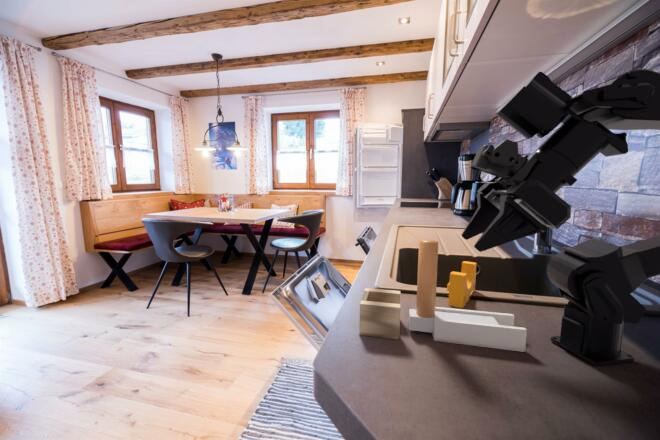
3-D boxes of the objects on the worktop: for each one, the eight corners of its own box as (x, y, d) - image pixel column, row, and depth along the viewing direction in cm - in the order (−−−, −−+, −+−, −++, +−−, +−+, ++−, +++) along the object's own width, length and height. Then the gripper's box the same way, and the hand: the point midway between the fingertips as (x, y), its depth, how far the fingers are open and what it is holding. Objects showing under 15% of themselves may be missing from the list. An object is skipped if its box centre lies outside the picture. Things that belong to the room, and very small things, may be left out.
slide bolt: (492, 330, 45) (498, 242, 43) (498, 340, 42) (505, 246, 40) (408, 321, 48) (411, 238, 46) (409, 329, 45) (412, 242, 43)
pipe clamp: (454, 287, 67) (455, 259, 66) (474, 291, 64) (476, 262, 64) (439, 303, 57) (440, 271, 56) (462, 309, 55) (464, 275, 54)
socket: (399, 318, 50) (400, 290, 50) (399, 339, 43) (400, 307, 43) (364, 315, 52) (365, 287, 51) (359, 334, 45) (359, 303, 44)
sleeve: (511, 333, 45) (512, 314, 45) (525, 351, 40) (526, 330, 40) (430, 324, 48) (431, 306, 48) (433, 340, 43) (434, 320, 43)
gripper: (489, 135, 49) (424, 203, 53) (538, 104, 31) (433, 211, 35) (543, 178, 48) (472, 245, 52) (626, 172, 30) (507, 275, 34)
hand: (469, 242), depth 43 cm, fingers open, 9 cm apart
